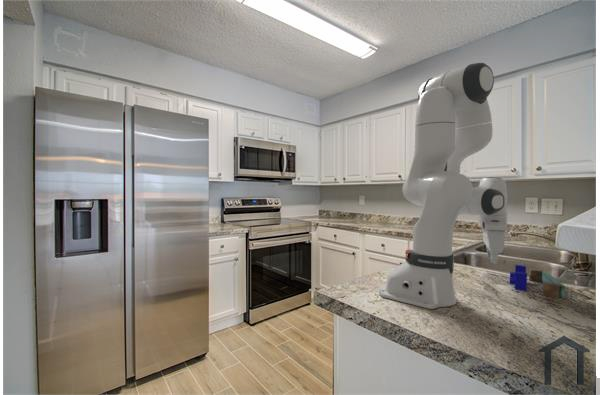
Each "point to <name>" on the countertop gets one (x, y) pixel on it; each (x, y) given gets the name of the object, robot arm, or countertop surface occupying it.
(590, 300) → the countertop surface
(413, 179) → the robot arm
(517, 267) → the cable clip
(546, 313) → the countertop surface
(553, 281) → the rail
